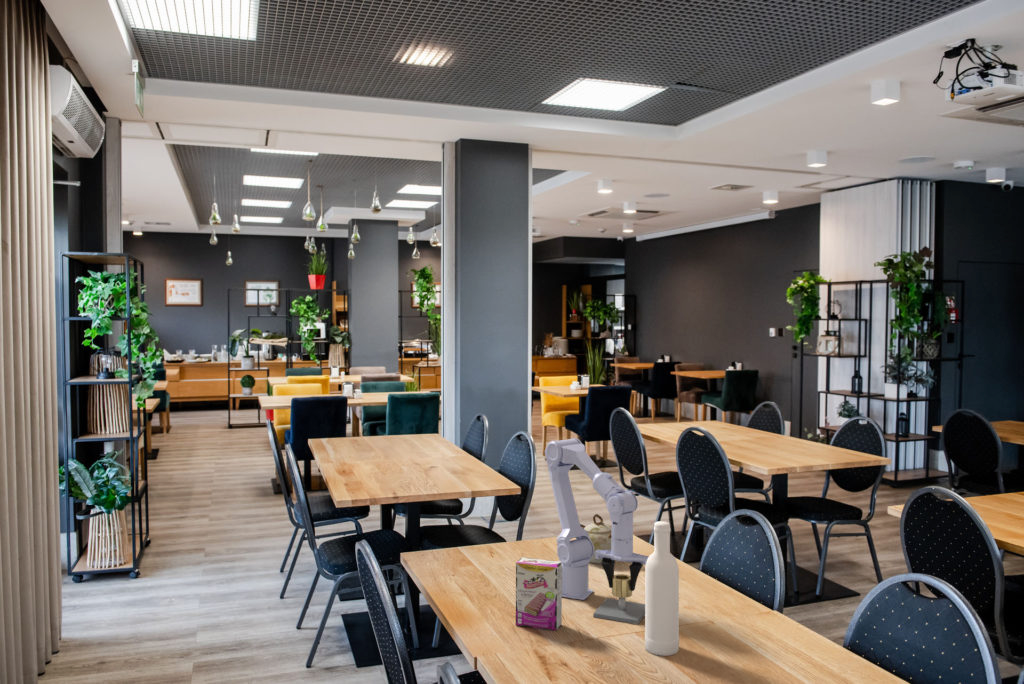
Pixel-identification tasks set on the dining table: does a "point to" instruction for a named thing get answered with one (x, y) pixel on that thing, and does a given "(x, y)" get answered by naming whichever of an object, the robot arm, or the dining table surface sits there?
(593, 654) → the dining table surface
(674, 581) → the bottle
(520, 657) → the dining table surface
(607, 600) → the stand
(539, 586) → the candy bar box
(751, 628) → the dining table surface
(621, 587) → the collar
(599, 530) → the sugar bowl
